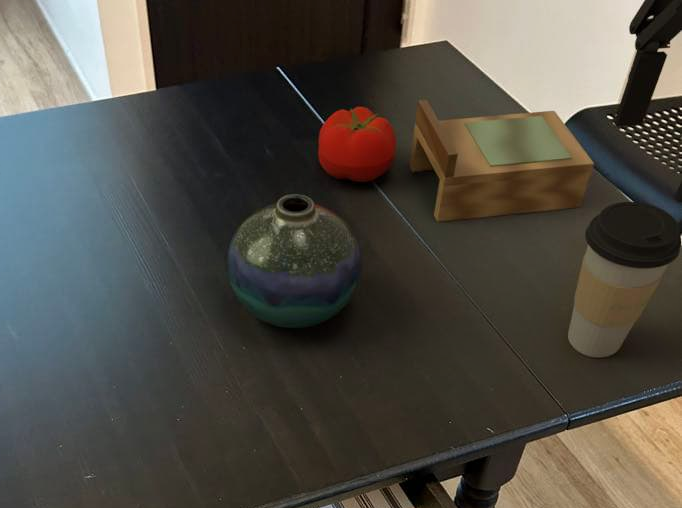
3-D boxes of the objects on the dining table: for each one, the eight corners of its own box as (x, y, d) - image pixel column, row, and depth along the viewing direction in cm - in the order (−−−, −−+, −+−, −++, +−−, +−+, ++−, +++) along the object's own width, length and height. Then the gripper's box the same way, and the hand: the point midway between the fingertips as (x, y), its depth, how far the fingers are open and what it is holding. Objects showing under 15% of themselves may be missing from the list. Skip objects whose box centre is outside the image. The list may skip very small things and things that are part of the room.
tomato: (381, 198, 112) (387, 144, 106) (305, 183, 115) (307, 129, 109) (401, 159, 118) (408, 106, 112) (329, 145, 120) (332, 93, 114)
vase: (263, 255, 105) (262, 153, 94) (376, 287, 101) (388, 185, 90) (206, 325, 96) (197, 223, 86) (326, 364, 93) (333, 261, 82)
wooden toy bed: (542, 153, 119) (560, 87, 112) (580, 207, 111) (601, 140, 104) (409, 166, 117) (418, 100, 110) (437, 222, 109) (448, 154, 102)
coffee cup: (609, 380, 91) (660, 263, 79) (535, 342, 95) (573, 224, 83) (650, 338, 95) (704, 221, 83) (578, 303, 99) (619, 186, 87)
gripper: (646, -164, 68) (571, 99, 85) (809, -51, 53) (679, 239, 71) (730, -168, 69) (639, 93, 86) (914, -57, 54) (760, 231, 71)
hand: (657, 159), depth 78 cm, fingers open, 13 cm apart
